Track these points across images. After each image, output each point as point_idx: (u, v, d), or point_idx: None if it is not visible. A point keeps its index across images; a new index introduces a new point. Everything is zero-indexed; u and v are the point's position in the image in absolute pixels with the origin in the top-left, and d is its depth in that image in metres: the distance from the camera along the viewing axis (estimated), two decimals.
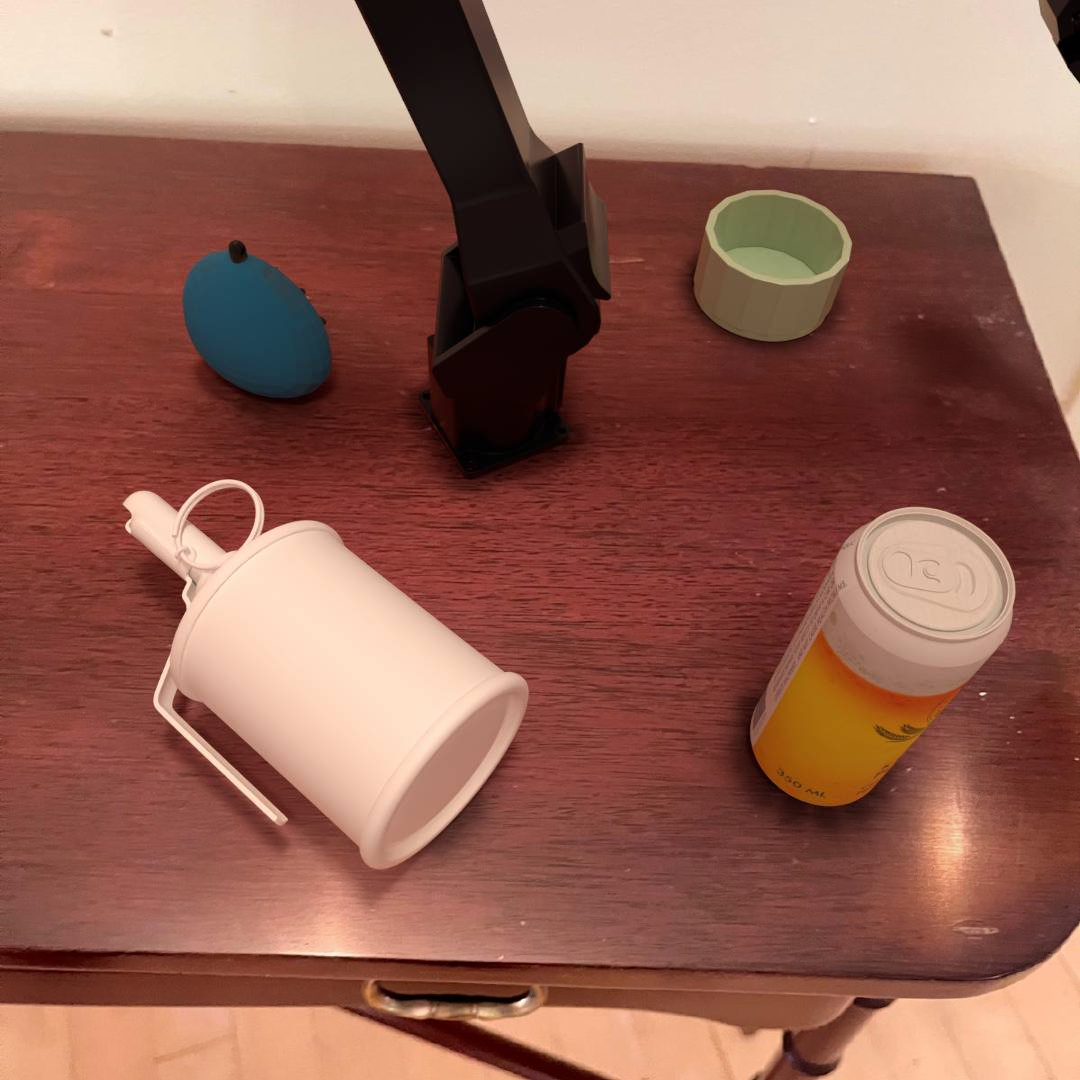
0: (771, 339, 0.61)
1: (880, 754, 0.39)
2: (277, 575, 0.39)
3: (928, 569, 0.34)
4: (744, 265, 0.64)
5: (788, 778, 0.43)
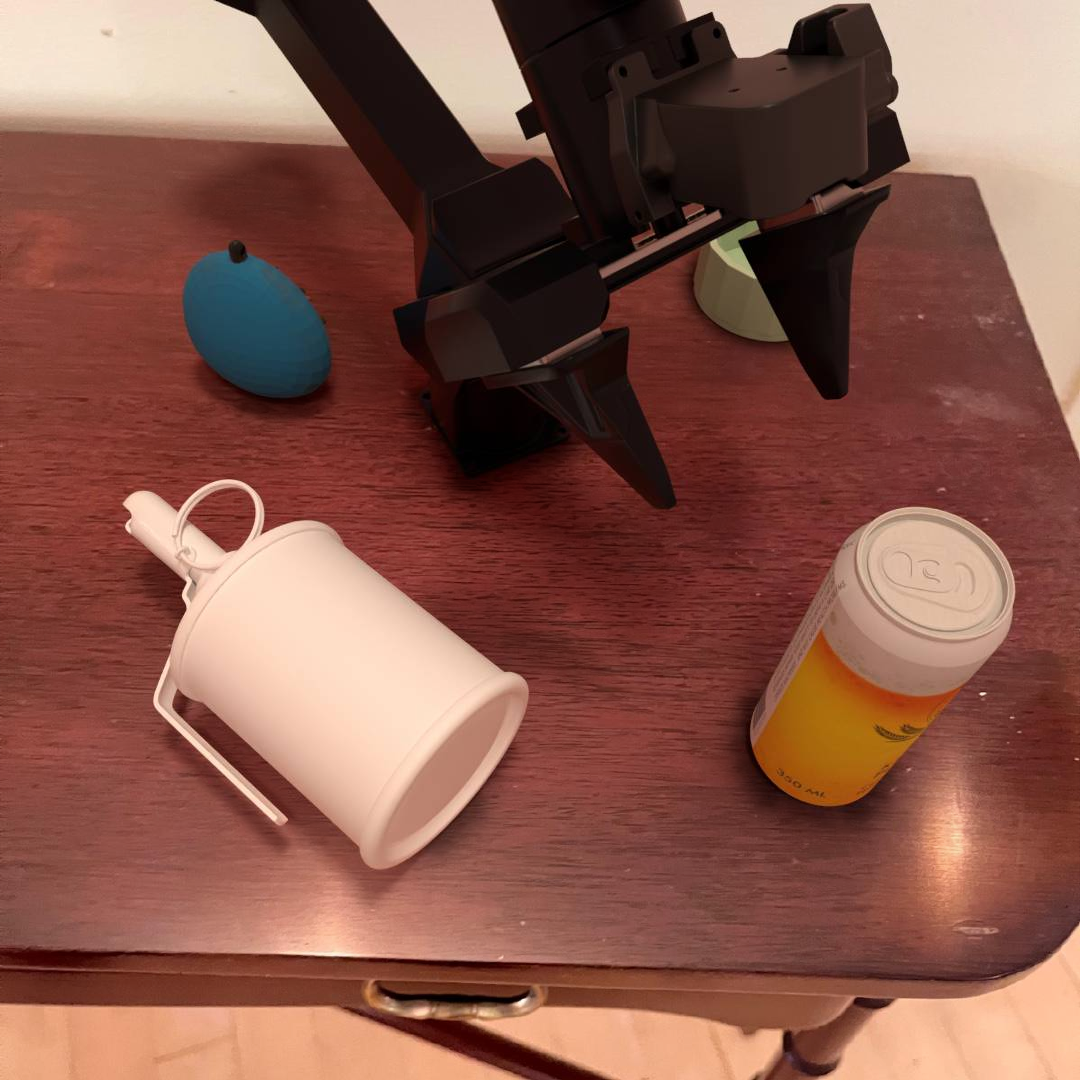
0: (771, 339, 0.61)
1: (880, 754, 0.39)
2: (277, 575, 0.39)
3: (928, 569, 0.34)
4: (744, 265, 0.64)
5: (788, 778, 0.43)
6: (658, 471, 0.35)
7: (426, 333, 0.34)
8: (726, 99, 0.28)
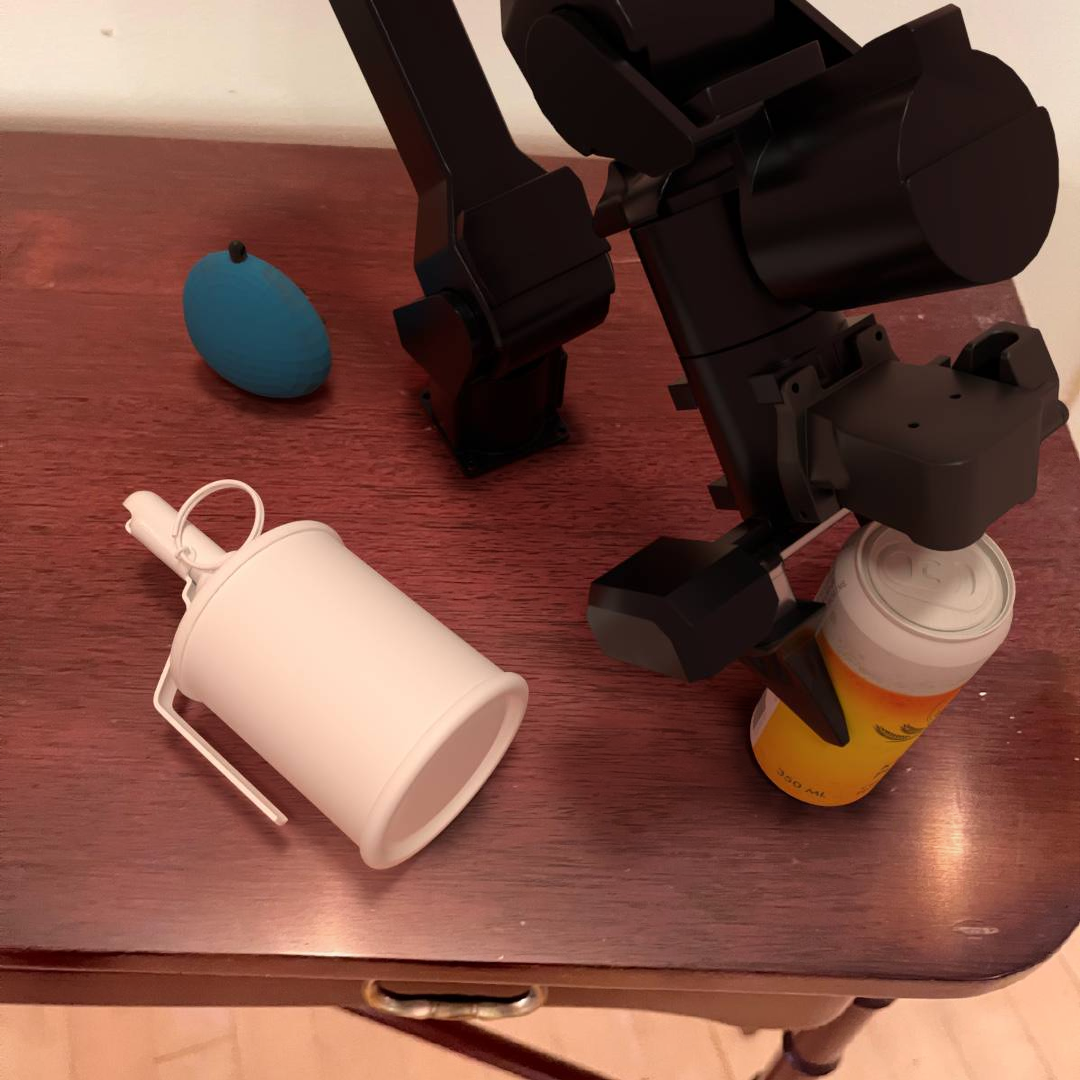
0: None
1: (880, 754, 0.39)
2: (277, 575, 0.39)
3: (928, 569, 0.34)
4: None
5: (788, 778, 0.43)
6: (836, 716, 0.37)
7: (588, 613, 0.35)
8: (910, 441, 0.29)
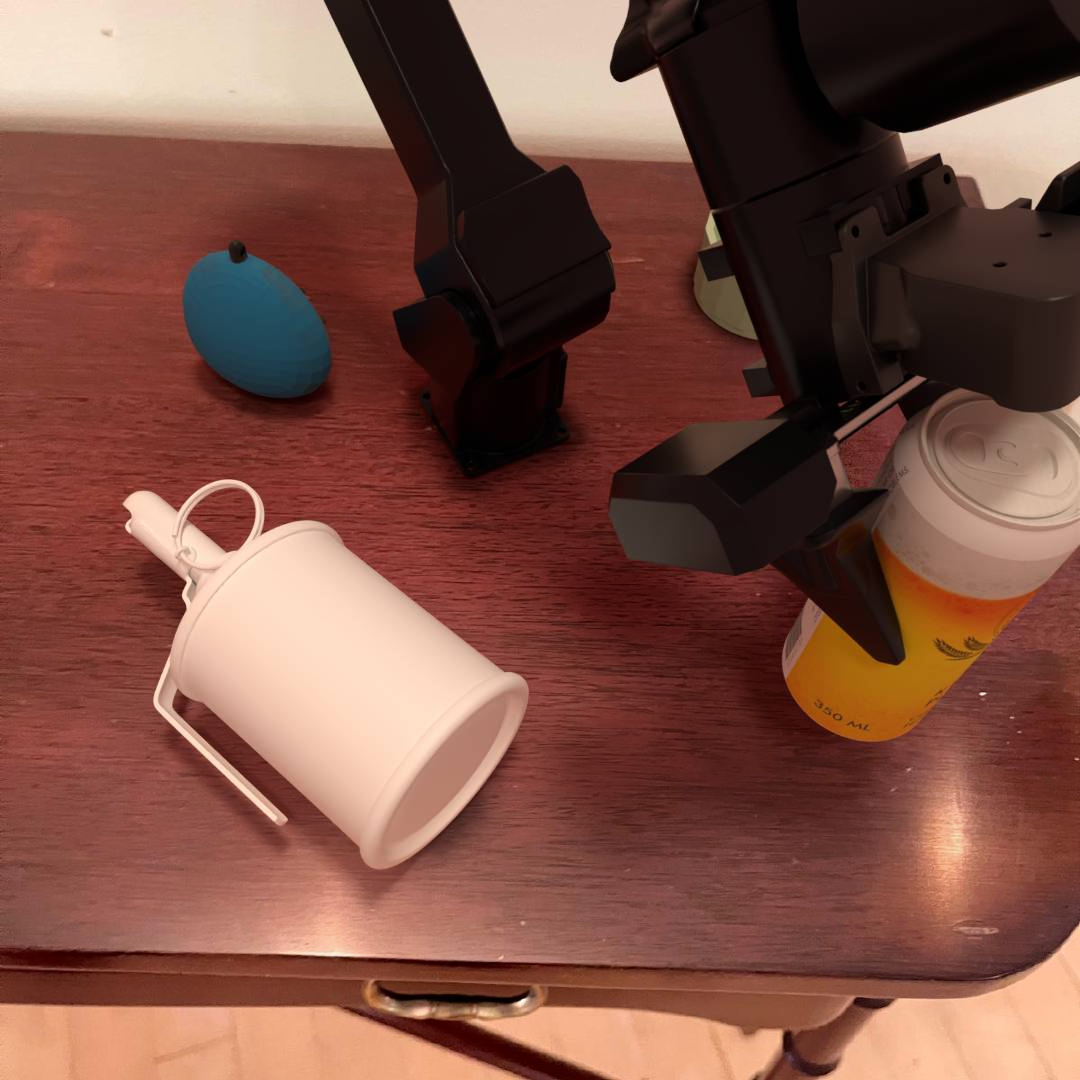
0: None
1: (937, 675, 0.35)
2: (277, 575, 0.39)
3: (1003, 450, 0.29)
4: None
5: (827, 710, 0.38)
6: (891, 628, 0.32)
7: (611, 509, 0.30)
8: (998, 279, 0.25)
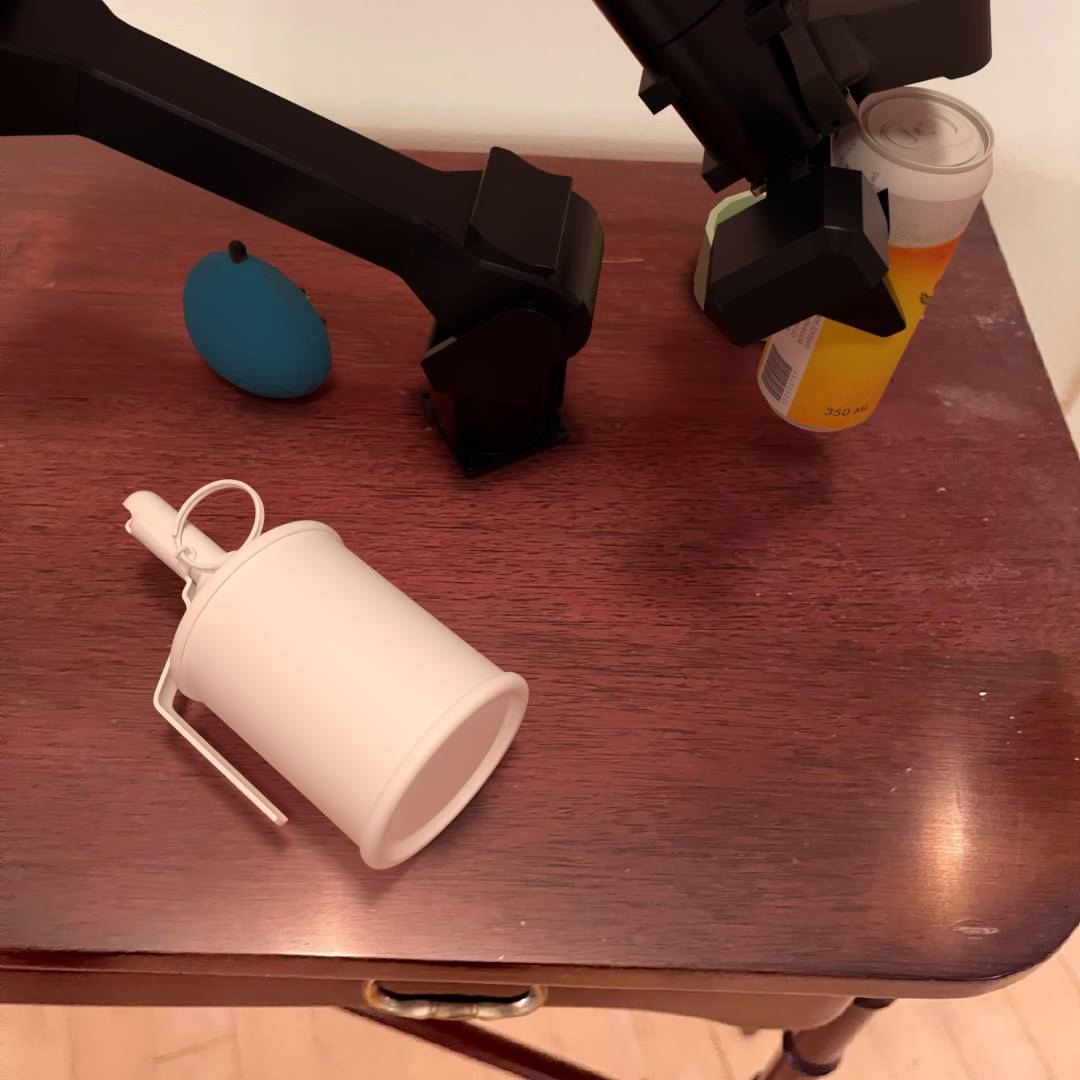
0: None
1: (914, 328, 0.44)
2: (277, 575, 0.39)
3: (920, 128, 0.38)
4: None
5: (837, 411, 0.47)
6: (896, 301, 0.41)
7: (723, 312, 0.35)
8: None
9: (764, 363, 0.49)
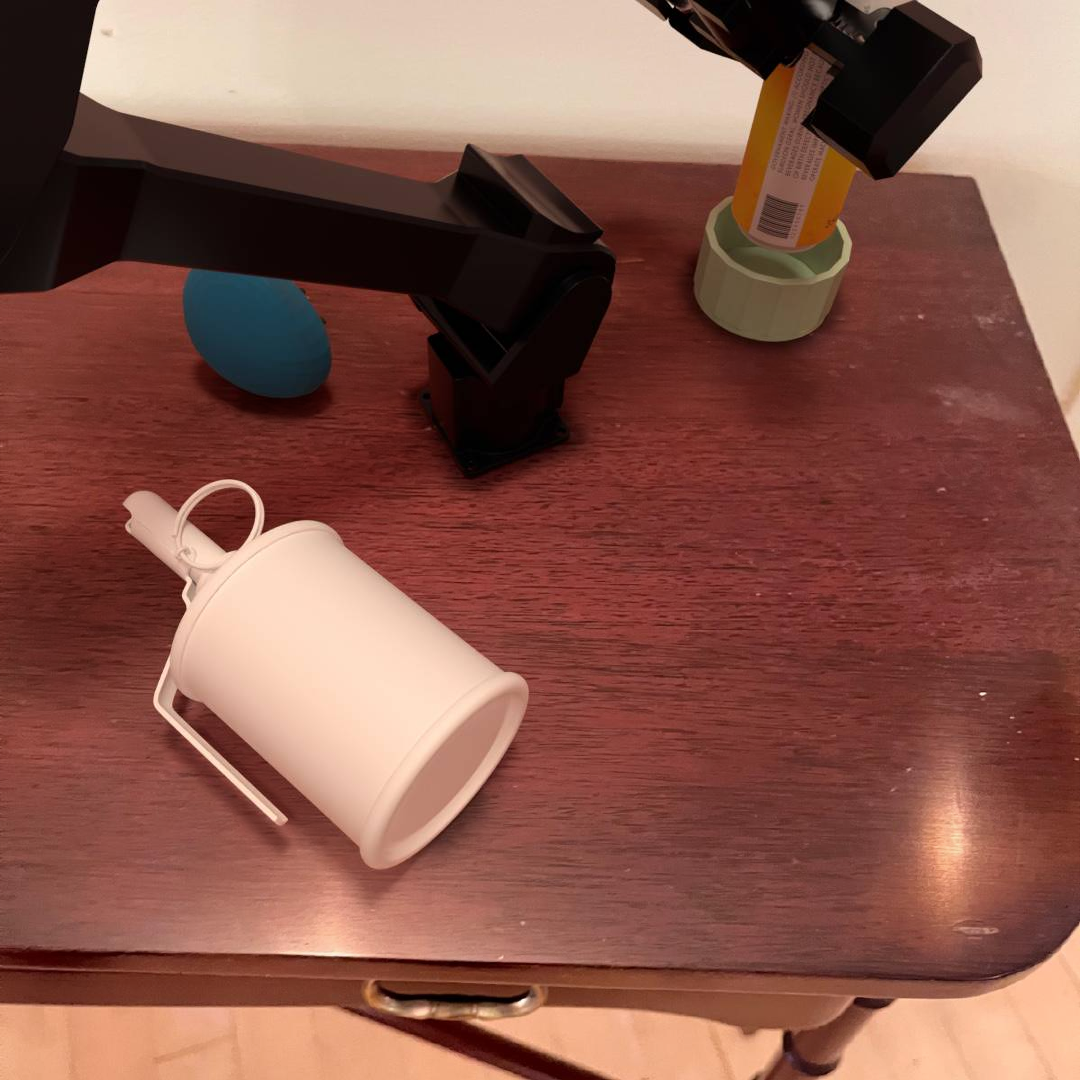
0: (771, 339, 0.61)
1: None
2: (277, 575, 0.39)
3: None
4: (744, 265, 0.64)
5: (832, 220, 0.56)
6: None
7: (888, 153, 0.42)
8: None
9: (757, 216, 0.56)
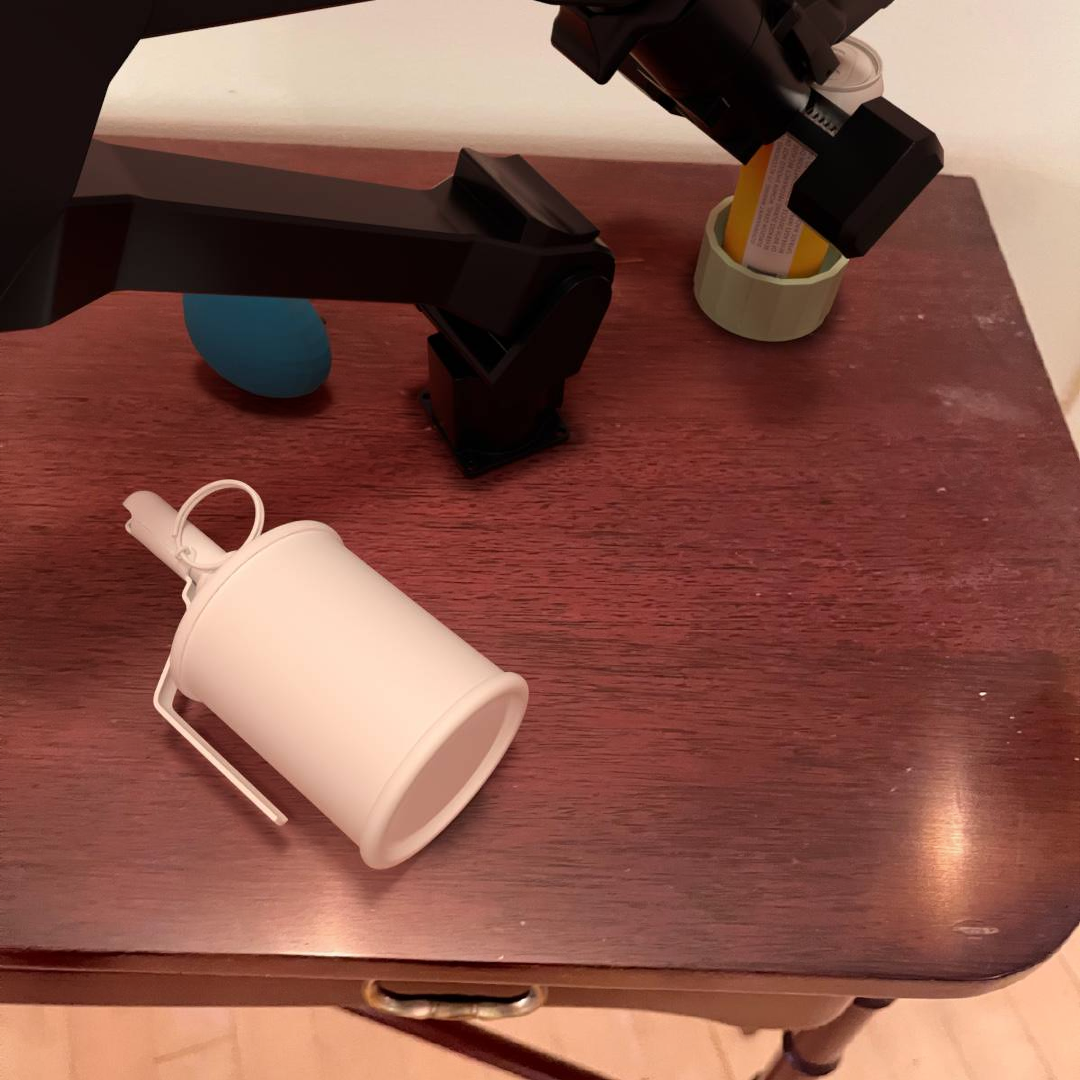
0: (771, 339, 0.61)
1: None
2: (277, 575, 0.39)
3: None
4: None
5: None
6: None
7: (857, 238, 0.46)
8: None
9: None
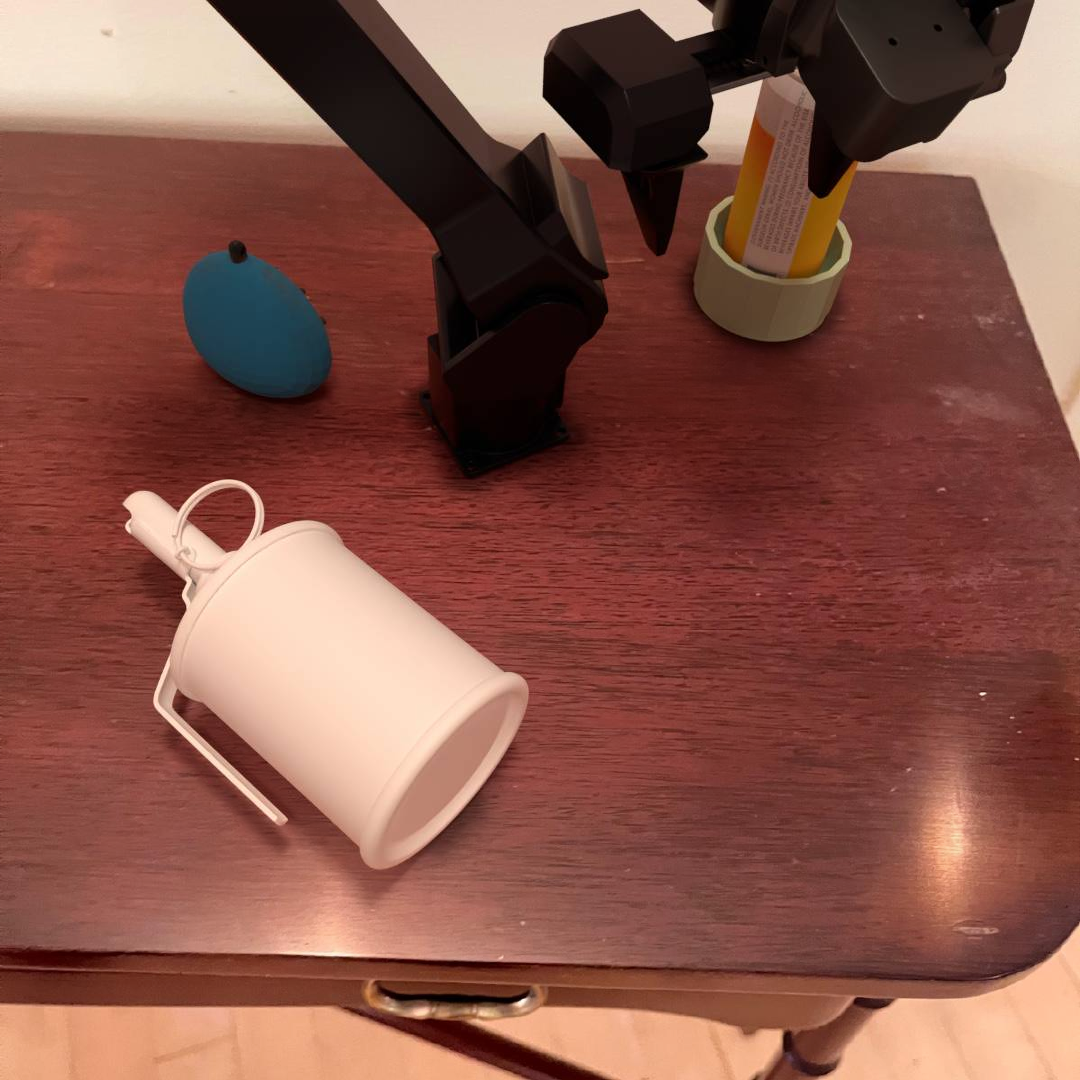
0: (771, 339, 0.61)
1: None
2: (277, 575, 0.39)
3: None
4: None
5: None
6: (665, 233, 0.44)
7: (547, 56, 0.38)
8: (882, 57, 0.33)
9: None
